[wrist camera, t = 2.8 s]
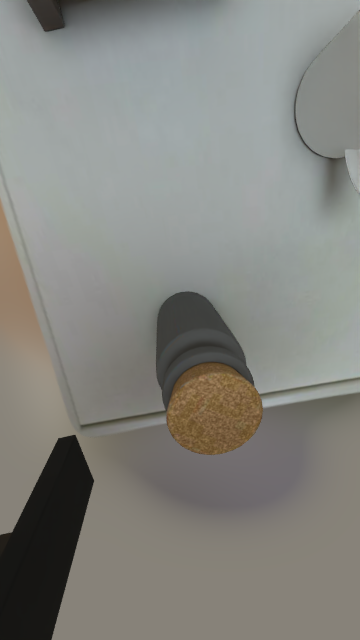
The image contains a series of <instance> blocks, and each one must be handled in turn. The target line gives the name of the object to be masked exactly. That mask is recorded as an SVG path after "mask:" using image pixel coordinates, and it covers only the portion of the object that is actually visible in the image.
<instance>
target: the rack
mask: <svg viewBox="0 0 360 640" xmlns="http://www.w3.org/2000/svg"><path fill="white" fill-rule="evenodd" d="M27 1H28V3H29V5H30V7H31V8H32V10H33V12H34V14H35V15H36V17H37V19H38V20H39V22H40V24H41V26H42V27H43V29H44V31H49V30H54V29H58V28H63V27H64V22H63V18H62V15H61V11H60V7H59V3H58V0H27Z"/></svg>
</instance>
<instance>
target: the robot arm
mask: <svg viewBox="0 0 360 640" xmlns="http://www.w3.org/2000/svg"><path fill="white" fill-rule="evenodd" d="M93 483H94V479H93V477H92V475H91V472H90V470H89V467H88V465H87V462H86V460H85V458H84V455H83V452H82V450H81V448H80V445H79V443H78V440H77V438H76V435H72V436H67V437H63V438H58V441H57V443H56V445H55V447H54V449H53V451H52V453H51V455H50V457H49V459H48V461H47V463H46V465H45V467H44V469H43V471H42V473H41V475H40V477H39V479H38V482H37V483H36V485H35V487H34V489H33V491H32V493H31V495H30V497H29V500H28V501H27V503H26V505H25V508H24V509H23V512H22V514H21V516H20V518H19V520H18V522H17V524H16V526H15V528H14V530H13V532H12V533H7V534H2V535H0V640H51V639H52V635H53V631H54V628H55V624H56V620H57V617H58V613H59V609H60V605H61V602H62V598H63V594H64V590H65V587H66V583H67V579H68V576H69V572H70V568H71V565H72V561H73V557H74V553H75V549H76V546H77V542H78V538H79V535H80V531H81V527H82V524H83V520H84V516H85V512H86V509H87V505H88V501H89V498H90V494H91V490H92V486H93Z"/></svg>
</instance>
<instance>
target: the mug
mask: <svg viewBox="0 0 360 640" xmlns="http://www.w3.org/2000/svg"><path fill="white" fill-rule="evenodd" d="M296 122H297V126H298V130H299V133H300V135H301V137H302V138H303V140H304V142H305V143H306V144H307V145H308V146H309V147H310V149H311V150H312V151H314V152H316V153H318V154H320V155H322V156H323V157H329V158H342V157H345V158H346V164H347V168H348V173H349V176H350V179H351V181H352V183H353V185H354V188H355V190H356V191H357V192H358V193H359V195H360V10H359V11H358V12H357V13H356V15H355V16H354V17H353V18H352V19H351V20H350V21H349V22H348V23H347V24H346V25H345V27H344V28H343V29H342V30H341V31H340V32H339V33H338V34H337V35H336V36H335V37H334V39H333V40H332V41H331V42H330V43H329V44H328V45H327V46H326V47H325V48H324V50H323V51H322V52H321V53H320V54H319V55H318V56H317V57H316V58H315V59H314V61H313V62H312V64H311V65H310V66H309V68H308V69H307V70H306V72H305V74H304V76H303V79H302V81H301V83H300V86H299V89H298V94H297V99H296Z"/></svg>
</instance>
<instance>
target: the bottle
mask: <svg viewBox="0 0 360 640" xmlns="http://www.w3.org/2000/svg"><path fill="white" fill-rule="evenodd" d="M156 371H157V379H158V383H159V385H160V387H161V389H162V397H163V403H164V406H165V409H166V411H167V425H168V427H169V431H170V433H171V435H172V436H173V438H174V439H175V440H176V441H177V442H178V443H179V444H180V445H181V446H183V447H184V448H186V449H188V450H190V451H192V452H195V453H199V454H206V455H215V454H222V453H226V452H229V451H231V450H234V449H236V448H238V447H240V446H242V445H243V444H244V443H245V442H247V441H248V440H249V439H250V438H251V437H252V436H253V435H254V434H255V432H256V430H257V429H258V427H259V424H260V422H261V419H262V411H263V408H262V401H261V398H260V396H259V393H258V391H257V390H256V389H255V387H254V381H253V377H252V375H251V373H250V371H249V369H248V368H247V366H246V359H245V355H244V352H243V350H242V348H241V346H240V344H239V343H238V341H237V340H236V339H235V337H234V336H233V334H232V333H231V331H230V330H229V328H228V327H227V325H226V324H225V322H224V321H223V320H222V318H221V317H220V315H219V314H218V313H217V311H216V310H215V308H214V307H213V306H212V304H211V303H210V302H209V301H208V300H207V299H206V298H205V297H203V296H201V295H199V294H197V293H193V292H181V293H178V294H175V295H173V296H172V297H170V298H169V299H167V300H166V301H165V303H164V304H163V305H162V307H161V309H160V311H159V314H158V320H157V347H156Z"/></svg>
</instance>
